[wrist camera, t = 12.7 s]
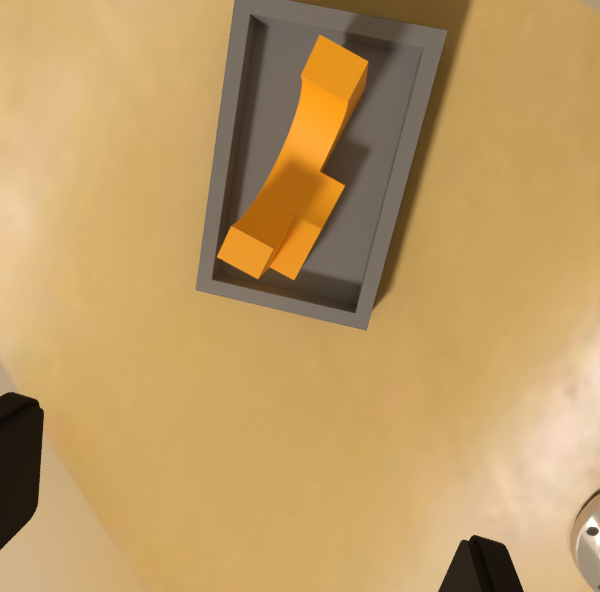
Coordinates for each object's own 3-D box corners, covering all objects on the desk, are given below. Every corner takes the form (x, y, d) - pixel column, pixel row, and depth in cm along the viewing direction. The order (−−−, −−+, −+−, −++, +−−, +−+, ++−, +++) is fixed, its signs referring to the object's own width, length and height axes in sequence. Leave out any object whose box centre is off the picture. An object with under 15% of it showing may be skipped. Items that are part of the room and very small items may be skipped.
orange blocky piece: (300, 269, 29) (285, 294, 23) (245, 239, 29) (216, 257, 23) (390, 102, 26) (401, 79, 20) (328, 67, 26) (319, 34, 20)
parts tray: (438, 44, 25) (447, 30, 23) (365, 318, 31) (366, 330, 28) (246, 7, 26) (235, -10, 24) (207, 281, 31) (195, 290, 29)
